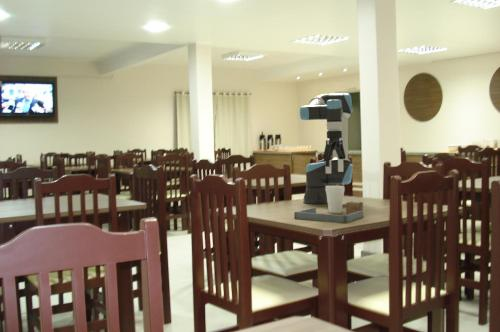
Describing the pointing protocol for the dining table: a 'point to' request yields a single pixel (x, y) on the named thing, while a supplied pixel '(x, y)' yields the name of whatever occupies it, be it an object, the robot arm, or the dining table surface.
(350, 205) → the walnut block
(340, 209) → the foam cup
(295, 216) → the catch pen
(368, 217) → the dining table surface
